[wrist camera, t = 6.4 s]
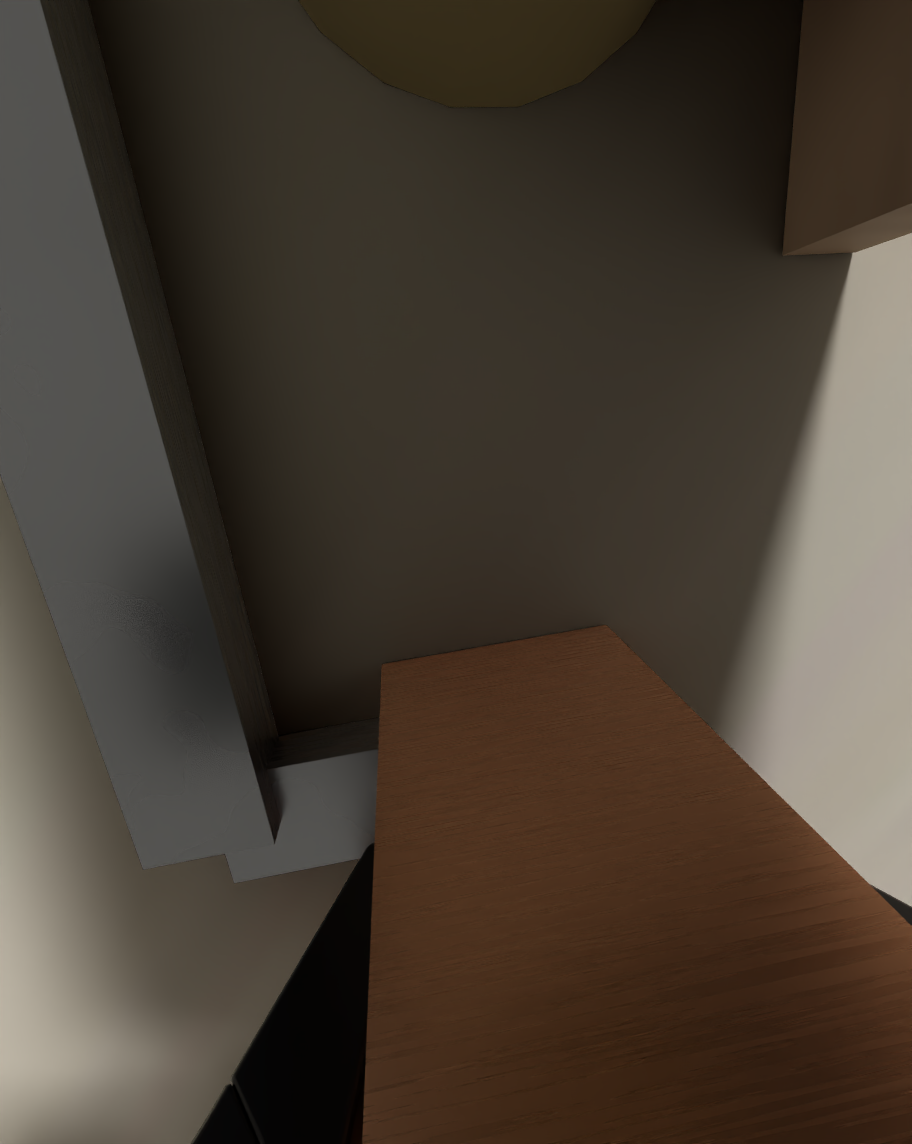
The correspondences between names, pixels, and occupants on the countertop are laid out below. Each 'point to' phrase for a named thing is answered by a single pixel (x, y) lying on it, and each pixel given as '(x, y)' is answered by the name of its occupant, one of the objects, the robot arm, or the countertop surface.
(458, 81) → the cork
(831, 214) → the spice cubby
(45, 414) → the grey brown long block
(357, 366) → the countertop surface
